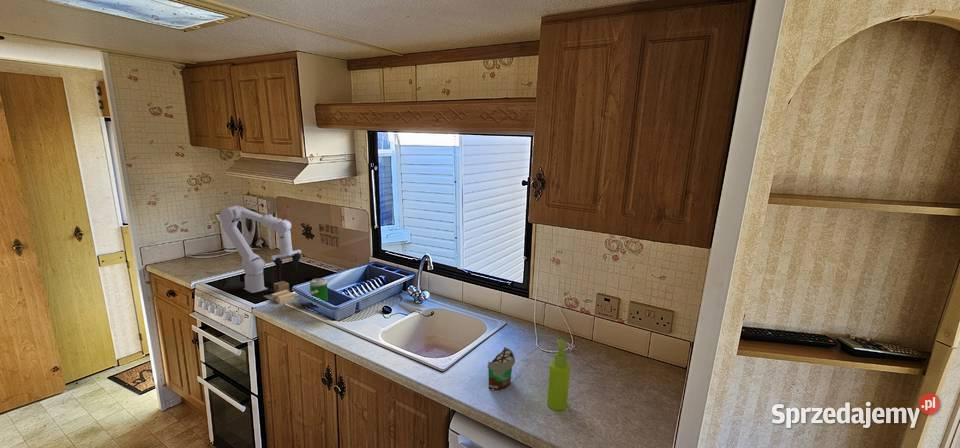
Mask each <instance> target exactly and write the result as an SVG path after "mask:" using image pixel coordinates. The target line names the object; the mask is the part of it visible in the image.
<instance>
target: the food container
mask: <svg viewBox="0 0 960 448" xmlns="http://www.w3.org/2000/svg"><path fill="white" fill-rule="evenodd" d="M515 363H516V358H515V355H514V352H513V351H512V349H510V348H508V347H506V346H503V350H501V352H500V353H498V354H497V355H496V356H495V358H493V360H492V361H488V363H487V369H488V371H487V372H488V389H489V390H491V389H494V390H493V391H502V390H501V389H503V390H506V389H508V388H509V387H510V385H511V379H512V371H513V366H514V365H515ZM508 386H509V387H508ZM507 387H508V388H507ZM505 388H506V389H505Z"/></svg>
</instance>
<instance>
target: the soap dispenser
mask: <svg viewBox="0 0 960 448" xmlns="http://www.w3.org/2000/svg"><path fill="white" fill-rule="evenodd" d="M555 342H556V344H557V346H558V350H557V352H555V355H554V360H552V361H551V362H550V364H549V365H550V366H549V377H548V388H547V389H548V390H547V402H546V404H547V406H548V408H550V409H551V408H552V409H551V410H553V409H554V411H557V410H562V411H564V409H565V410H566V409H567V408H566V407H568V399H569V398H568V397H569V388H570V387H569V385H570V384H569V383H570V372H571V365H570V364H569V362H567V359H568V358H567V357H568V355H567V353H565V349H567V346H566V345H567V344H566V343H565V341H564V340H563V338H562V339H561V338H555Z"/></svg>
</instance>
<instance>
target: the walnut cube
mask: <svg viewBox="0 0 960 448" xmlns="http://www.w3.org/2000/svg"><path fill="white" fill-rule="evenodd" d="M285 290H287V291H290V283H289V282H287V281H285V280H282V281H278V282H274V283H273V293H277V292H281V291H285Z"/></svg>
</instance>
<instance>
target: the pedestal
mask: <svg viewBox="0 0 960 448" xmlns="http://www.w3.org/2000/svg"><path fill="white" fill-rule="evenodd" d="M273 293H274V292H273ZM271 294H272V293H271ZM294 294H295V293H294V292H291V290H289V291H287V290H285V291H281V292H277V293H274V294H272V300H274V301H276V302H278V303H280V304H284V303H287V301H288V302H290V301H291V302H292V301H294V300H295V299H294ZM272 300H271V301H272ZM274 301H273V302H274ZM276 302H275V303H276ZM278 303H277V304H278ZM280 304H279V305H280Z"/></svg>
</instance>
